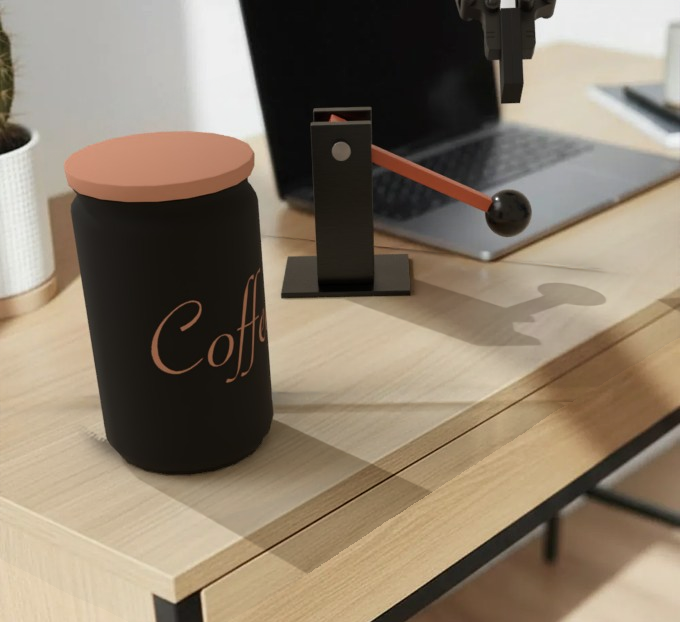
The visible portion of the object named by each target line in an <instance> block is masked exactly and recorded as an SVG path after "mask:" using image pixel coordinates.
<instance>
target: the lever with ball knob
mask: <svg viewBox="0 0 680 622" xmlns="http://www.w3.org/2000/svg"><path fill="white" fill-rule="evenodd" d="M338 121H346V120H344V119H342V118H340V117H337V116H335V115H333V114H332V115H331V118H330V120H329V122H338ZM371 145H372V164H375V165H377V166H380V167H382V168H384V169H386V170H389V171H391V172H393V173H395V174H398V175H400V176H402V177H404V178H407V179H409V180H412V181H414V182H416V183H418V184H421V185H423V186H425V187H427V188H429V189H432V190H434V191H437V192H439V193H441V194H443V195H445V196H448V197H450V198H452V199H454V200H456V201H459V202H461V203H464V204H466V205H469V206H471V207H473V208H475V209H477V210H480V211H482V212H484V219H485V222H486V225H487V227H488V228H489V230H491V232H492V233H493V234H495V235H497V236H499V237H502V238H512V237H516V236H519V235H520V234H522V233H524V231H525V230H526V229H527V228H528V227H529V225H530V223H531V220H532V216H533V209H532V205H531V201H530V200H529V199H528V198H527V196H526V195H525V194H524V193H523V192H521V191H519V190H516V189H511V188H510V189H507V188H506V189H502V190H499V191H497V192H496V193H494V194H493V195H492V196H490V195H488V194H485V193H483V192H481V191H478V190H477V189H474V188H472V187H470V186H468V185H465V184H463V183H460V182H458V181H456V180H454V179H452V178H449V177H448V176H445V175H442V174H440V173H438V172H436V171H433V170H432V169H429V168H427V167H424V166H422V165H420V164H418V163H415V162H413V161H411V160H408V159H406V158H404V157H402V156H400V155H397V154H396V153H392V152H391V151H389V150H386V149H385V148H384V149H383V148H382V147H379V146H377V145H375V144H373V143H372V144H371Z"/></svg>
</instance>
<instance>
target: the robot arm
mask: <svg viewBox="0 0 680 622" xmlns="http://www.w3.org/2000/svg"><path fill="white" fill-rule="evenodd" d="M454 1H455V5H456V8H457V11H458V14H459V17H460V19H461V20H462V21H465V22H470V21H473V20H475V21H477V22H479V23H480V24H482V26H481V28H482V31H483V37H484V38H483V41H484V42H483V43H484V56H485V58H486V60H487V61H498V66H499V67H498V69H499V71H498V72H499V91H500V92H499V94H500V95H499V96H500V105H505V104H506V105H507V104H521V101H522V95H523V89H524V85H525V80H524V60H525V61H527V60H532V59H533V57H534V54H535V50H536V44H537V40H536V37H537V36H536V21H537V20H538V19H544V20H549V19H551V18H552V17H553V15H554V12H555V9H556V4H557V0H514V7H501V3H502V0H454Z"/></svg>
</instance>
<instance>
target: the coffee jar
mask: <svg viewBox="0 0 680 622" xmlns="http://www.w3.org/2000/svg"><path fill="white" fill-rule="evenodd" d="M255 156H256V155H255V151H254V150H253V148H252V147H251V146H250V144H249V143H248V142H245V141H243V140H241V139H238V138H237V137H234V136H230V135H224V134H219V133H215V132H207V131H206V132H203V131H191V130H182V131H177V130H176V131H155V132H154V131H153V132H145V133H136V134H130V135H129V134H128V135H124V136H119V137H113V138H110V139H105V140H102V141H99V142H96V143H93V144H89V145H87V146H85V147H83V148H81V149H79V150H77V151H75V152H72V153H71V154H70V155H69V156H68V157H67V159H66V160H64V162H63V170H64V174H65V179H66V183H67V186H68V187H69V188H70V189H72V191H73V192H74V193H75V194H76V195H75V197H74V199H73V200H72V202H71V203H70V216H71V223H72V230H73V235H74V241H75V248H76V254H77V262H78V267H79V268H78V269H79V275H80V279H81V281H80V282H81V288H82V293H83V300H84V305H85V313H86V319H87V326H88V332H89V337H90V345H91V349H92V350H91V351H92V356H93V357H92V358H93V363H94V371H95V375H96V382H97V389H98V394H99V401H100V407H101V413H102V420H103V427H104V432H105V438H106V440H107V442H108V443H109V445H110V446H111V447H112V448H113V449H114V450H115V451H116V452H117V453H118V454H119V455H120V456H121V458H122V459H124V461H126V462H127V464H129V465H131V466H133V467H135V468H138V469H140V470H142V471H144V472H149V473H154V474H159V475H165V476H194V475H199V474H207V473H213V472H217V471H219V470H223V469H226V468H228V467H231V466H235V465H237V464H238V463H240V462H242V461H244V460H245V459H247V458H248V457H250V456H252V455H253V454H254V453H255V452H256V450H258V449H259V448H260V446H261V445H262V444H263V441H264V439H265V438H266V437H267V436H268V434H269V432H270V430H271V427H272V422H273V419H274V418H273V417H274V406H273V405H274V404H273V389H272V375H271V362H270V346H269V333H268V318H267V305H266V291H265V290H266V289H265V277H264V263H263V250H262V249H263V248H262V247H263V246H262V237H261V236H262V235H261V233H262V232H261V221H260V208H259V198H258V195H257V192H256V190H255V189H254V187H253V186H252V184H251V183H250V182H249V177H250V176H251V175H252V172H253V170H254V168H255V161H256V160H255Z"/></svg>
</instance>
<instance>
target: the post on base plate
mask: <svg viewBox="0 0 680 622" xmlns="http://www.w3.org/2000/svg"><path fill="white" fill-rule="evenodd" d="M332 114H333V115H335V116H337V117H340V118H342V119H344V120H346V121H338V122H329V120H330V118H331V115H332ZM312 116H313V117H312V118H313V121H312V122H310V144H311V163H312V164H311V165H312V166H311V167H312V185H313V189H312V190H313V210H314V230H315V232H314V233H315V248H316V249H315V253H316V255H291V256H289V255H288V256H287V258H286V259H287V260H286V264H285V269H284V275H283V280H282V285H281V292H280V299H310V298H311V299H314V298H315V299H318V298H320V299H323V298H324V299H325V298H365V297H366V298H367V297H369V298H370V297H371V298H372V297H410V296H411V280H410V278H411V277H410V276H411V275H410V260H409V253H385V254H384V253H383V254H381V253H379V254H375V235H374V234H375V226H374V223H375V222H374V221H375V219H374V179H373V178H374V175H373V174H374V173H373V170H374V169H373V168H374V167H373V162H372V145H373V124H372V123H373V120H372V119H373V117H372V107H371V106H351V107H318V108H317V107H316V108H313V111H312ZM371 144H372V145H371Z"/></svg>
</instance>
